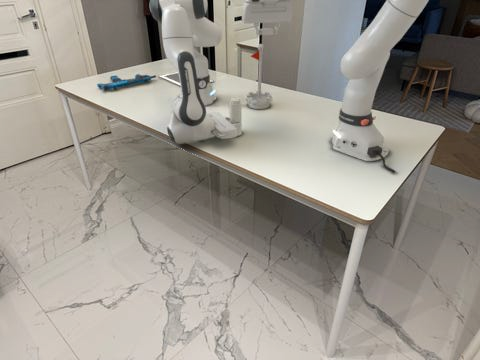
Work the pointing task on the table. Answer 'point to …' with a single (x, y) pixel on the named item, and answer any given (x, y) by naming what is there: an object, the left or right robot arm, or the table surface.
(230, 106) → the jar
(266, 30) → the lid
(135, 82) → the submachine gun
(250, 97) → the flag stand
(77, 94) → the table surface
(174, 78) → the tablet
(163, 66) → the table surface
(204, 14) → the left robot arm
